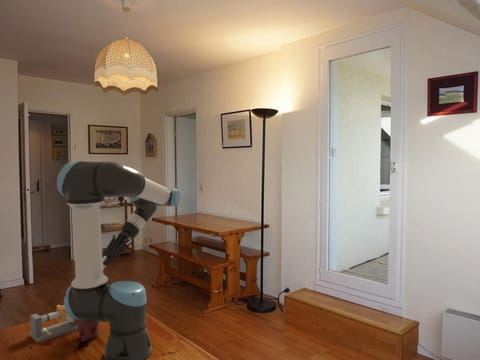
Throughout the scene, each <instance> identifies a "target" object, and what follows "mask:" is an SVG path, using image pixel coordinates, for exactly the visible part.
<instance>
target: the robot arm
mask: <svg viewBox="0 0 480 360" xmlns="http://www.w3.org/2000/svg"><path fill="white" fill-rule="evenodd" d="M56 179H57V180H56V181H57V182H56V186H57V190H58V192H59V194H60V195H61V196H63V197H65V199H66V204H67V205H68V206H69V207H70V208H71V214H72V215H71V216H72V229H73V231H72V233H73V249H74V252H73V253H74V268H75V278H74V279H73V280H72V281H71V283H70V286H69V287H68V288H67V290H66V292H65V296H64V298H63V305H64V307H65V311H66V313H67V314H68V316H70V317H71V318H73V319H78V320H81V321H97V322H99V323H108V324H109V335H108V338H107V342H106V344H105V348H104V360H146V359H147V358H148V357H149V356H150V355H151V353H152V342H151V338H150V335H149V333H148V329H147V302H148V301H147V293H146V288H145V286H144V285H142V284H141V283H139V282H136V281H133V280H132V281H131V280H125V281H123V280H120V281H115V282H113V283H111V285H109V278H108V276H107V275H105V274H104V269H105V268H106V267H107V266H108V265H109V263H110V262H111V261H112V260H116V259H117V258H119V257H120V255H121V254H122V253H123V252H124V251H125V250H126V249H127V248H128V247H129V246H131V245H132V244H133V241H132V239H133V238H136V237H137V235H138V234H139V233H140V231H141V230H142V229H143V228H144V227H145V225H146V224H147V223H148V221H149V220H150V218H152V217H153V215H154V214H155V213H156V212H157V210H158V208H159V207H170V208H172V207H178V206H179V205H180V203H181V198H182V197H181V192H180V190H179V189H177V188H168V187H166V186H164V185H161V184H159V183H156V182H155V181H153V180H151V179H149V178H147V177H145V176H144V174H143V173H142V172H140V171H139V170H137V169H134V168H132V167H130V166H127V165H124V164H121V163H118V162H114V161H83V160H79V161H71V162H68V163H66V164H64V166H63V167H61V169H60V171H59V173H58V175H57V178H56ZM118 197H119V198H120V197H126V198H128V199H129V201H130V202H131V203H132V205H133V206H134V208H135V210H134V211H133V212H132V213H131V214H130V215H129V217H128V218H127V220H126V221H125V222H124V223H123V224H122V225H121V227H120V229H121V231H120V232H119V233H118V234H117V235H116V234H114V235H112V238H111V240H110V241H109V243H108V245H107V246H106V248H105V249H104V251H103V247H102V246H103V242H102V225H101V223H102V221H101V206H102V205H103V203H105V198H118ZM103 254H104V255H103Z"/></svg>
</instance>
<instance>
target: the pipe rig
mask: <svg viewBox="0 0 480 360" xmlns="http://www.w3.org/2000/svg"><path fill="white" fill-rule="evenodd" d="M59 317H61V311H57V310H56V311H54V312H49V313H45V314H44V315H43V314H42V315H39V314H38V313H34V314H30V331H29V337H30V338H31V339H32V340H34V342H35V343H41V342H45V341H48V340H50V339H53V338H57V337H60V336H63V335H65V334H69V333H71V332H74V331H77V330H78V329H79V328H78V325H77V324H75V323H73V322H72V321H70V320H69V319H68V320H66V322H63V323H62V322H59V323H56V324H53V325H50V326H46V327H42V323H45V322H50V321H52V320H55V319H56V320H57V318H59Z"/></svg>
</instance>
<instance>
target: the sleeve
mask: <svg viewBox="0 0 480 360" xmlns="http://www.w3.org/2000/svg"><path fill="white" fill-rule="evenodd" d="M61 306H63V307H64V304H63V305H61ZM64 308H65V307H64ZM65 317H66V321H69V320H70V321H72V322H73V323H74V319H73V318H71V317H70V316H68V314H67V313H66V311H65Z"/></svg>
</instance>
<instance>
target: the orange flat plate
mask: <svg viewBox="0 0 480 360" xmlns="http://www.w3.org/2000/svg"><path fill="white" fill-rule="evenodd" d="M57 311H61V317H59V318H56V320H58V321H59V322H60V323H63V322H66V321H67V320H66V317H65V308H64V307H63V306H62V305H61V304H58V305H56V312H57Z"/></svg>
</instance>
